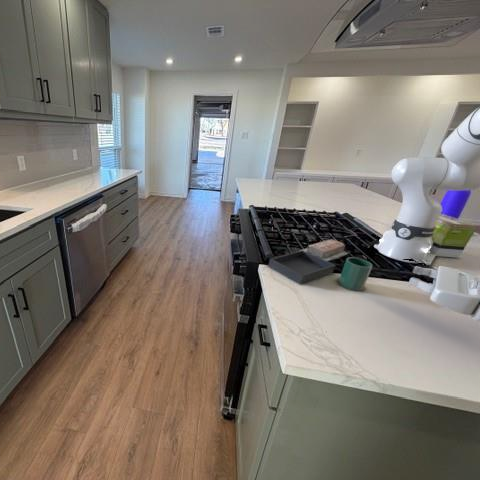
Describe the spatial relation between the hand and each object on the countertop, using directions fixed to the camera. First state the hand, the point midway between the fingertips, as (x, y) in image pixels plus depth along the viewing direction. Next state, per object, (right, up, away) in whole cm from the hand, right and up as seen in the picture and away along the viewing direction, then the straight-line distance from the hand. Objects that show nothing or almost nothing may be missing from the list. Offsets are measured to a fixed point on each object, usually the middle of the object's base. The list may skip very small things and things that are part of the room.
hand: (411, 274), depth 71 cm
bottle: (+76, +14, +62) cm, 99 cm away
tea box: (+49, +5, +40) cm, 63 cm away
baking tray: (-20, -1, +21) cm, 29 cm away
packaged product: (-4, +4, +33) cm, 33 cm away
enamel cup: (-8, -5, +12) cm, 15 cm away
